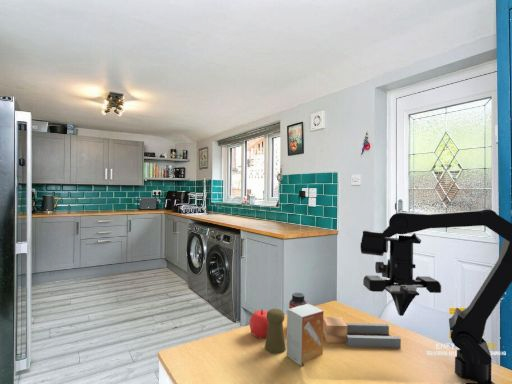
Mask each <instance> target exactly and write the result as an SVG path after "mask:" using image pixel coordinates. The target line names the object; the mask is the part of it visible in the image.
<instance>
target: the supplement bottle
mask: <svg viewBox="0 0 512 384" xmlns="http://www.w3.org/2000/svg"><path fill="white" fill-rule="evenodd" d="M291 296H292V297H291V299H290V300H289V303H288V305H289V306H288V309H290V308H294V307H297V306H301V305H305V304H308V302H307V301H306V300H305V294H304V293H302V292H293V293H292V294H291Z"/></svg>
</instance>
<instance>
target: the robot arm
mask: <svg viewBox="0 0 512 384" xmlns="http://www.w3.org/2000/svg"><path fill="white" fill-rule="evenodd" d="M481 226H482V227H483V226H484V227H487V228H488V229H489V230H491V231H492V232H494V233H495V234H497V235H498V236H500V237H501V238H503V241H502V243H501V246H500V250H499V254H498V259H497V261H496V263H495V264H494V266H493V267H492V269H491V270H490V272H489V273H488V275H487V277H486V278H485V279H484V282H483V283H482V285H481V286H480V287H479V289H478V291H477V292H476V294H475V295H474V297H473V299H472V301H471V302H470V303H469V305H468V306H467V307H466V308H465V309H463V310H461V309H459V308H458V307H456V308H455V311H454V313H453V315H452V316H451V317H449V318H448V325H449V326H448V327H449V334H450V339H451V342H452V344H453V345H454V346H455V347H456V348H457V349H456V356H455V357H454V372H455V374H456V375H457V376H459V377H460V379H464V380H470V381H471V382H465V384H496V383H494V382H493V381H492V361H493V360H492V359H493V358H492V355H491V353H490V349H489V347H488V344H487V341H486V340H485V339H484V338H483V337H484V334H485V329H486V324H487V320H488V319H489V318H490V316H491V315H492V313H493V311H494V310H495V309H496V306H497V305H498V303H499V302H500V301H501V299H502V298H503V296H504V294H505V293H506V292H507V290H508V288H509V287H510V285H511V284H512V222H510V221H509V220H507V219H505V218H504V217H502V216H501V215H499V214H497V212H496V211H494V210H493V209H489V208H481V209H476V210H475V209H474V210H464V211H463V210H461V211H451V212H450V211H449V212H438V213H419V212H410V211H398V212H397V213H394V214H392V215H391V217H390V218H389V221H388V226H387V227H386V228H385V229H384V230H383V231H372V230H368V229H367V230H366V229H365V230H363V231H362V237H361V242H360V253H361V254H362V255H371V256H378V257H379V256H380V257H383V256H384V253H386V254H387V253H388V252H389V258H388V259H387V263H386V264H384V262H383V261H375V262H374V263H375V265H374V266H375V268H374V269H375V273H376V274H381V277H382V278H381V277H380V276H379V275H365V276H364V277H363V279H362V280H363V281H362V283H363V286H364V287H365V288H366V289H367V290H368V291H369V292H373V293H374V292H378V293H379V292H381V293H382V292H384V291H386V292H387V293H389V294H390V296H391V298H392V300H393V302H394V305H395V309H396V311H397V314H398V316H399V317H402V316H404V315H405V313H406V311H407V309H408V308H409V306H410V304H411V303H412V302H413V300H414V299H415V298H416V296H417V297H418V296H420V293H419V292H418V291H417V288H421V289H423V288H426V291H428V293H430V294H431V293H433V294H437V293H438V294H440V293H442V284H441V282H440V281H439V280H437V279H435V278H433V277H431V276H419V275H418V276H416V277H415V279H414V269H416V264H415V263H414V244H419V245H420V244H421V243H422V239H420V238H419V237H418V236H417V233H416V232H420V231H424V230H430V229H443V228H444V229H445V228H459V227H460V228H461V227H462V228H463V227H464V228H466V227H481ZM406 234H411V235H406ZM395 235H398V238H397V237H393V236H395ZM383 278H386V279H383Z"/></svg>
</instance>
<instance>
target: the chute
mask: <svg viewBox="0 0 512 384" xmlns="http://www.w3.org/2000/svg"><path fill="white" fill-rule="evenodd" d="M345 323H346V324H347V343H346V345H347V347H362V348H365V347H366V348H397V349H398V348H401V347H402V345H401V344H402V343H401V342H402V339H401V338H400V336H396V335H390V326H389V324H388V323H369V322H368V323H367V322H366V323H363V322H361V323H359V322H345Z"/></svg>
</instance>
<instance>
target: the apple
mask: <svg viewBox="0 0 512 384" xmlns="http://www.w3.org/2000/svg"><path fill="white" fill-rule="evenodd" d="M268 311H269V310H263V309H260V310H256V311H254V312H253V314H252V315H251V316H250V319H249V323H248V324H249V329H250V333H251V334H252V335H253V336H255V337H256V338H260V339H264V338H265V339H266V335H267V328H268V321H267V312H268Z"/></svg>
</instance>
